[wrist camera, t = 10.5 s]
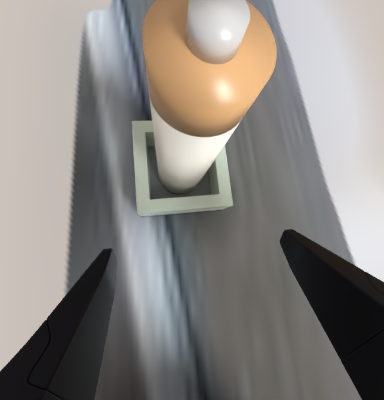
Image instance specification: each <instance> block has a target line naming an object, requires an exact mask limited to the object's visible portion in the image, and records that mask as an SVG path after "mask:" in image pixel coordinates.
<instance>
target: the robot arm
mask: <svg viewBox="0 0 384 400" xmlns="http://www.w3.org/2000/svg"><path fill="white" fill-rule="evenodd" d="M280 244H281V247H282V249H283V252H284V254H285V256H286V259H287V261H288V263H289V266H290V268H291V270H292V272H293V274H294V276H295V278H296V279H297V281H298V283H299V285H300V287H301V289H302V290H303V292H304V294H305V296H306V298H307V299H308V301H309V303H310V305H311V307H312V309H313V310H314V312H315V314H316V316H317V318H318V320H319V321H320V323H321V325H322V327H323V329H324V331H325V332H326V334H327V336H328V338H329V340H330V341H331V343H332V345H333V347H334V349H335V351H336V352H337V354H338V356H339V358H340V359H341V362H342V364H343V365H344V367H345V369H346V371H347V373H348V375H349V376H350V378H351V380H352V382H353V384H354V386H355V387H356V389H357V391H358V393H359V395H360V396H361V398H362V400H384V282H382V281H381V280H379V279H377V278H375V277H373V276H372V275H370V274H369V273H367V272H364V271H363V270H361V269H360V268H358V267H356V266H355V265H353V264H351V263H350V262H348V261H346V260H344V259H343V258H341V257H339V256H338V255H336V254H334V253H332V252H331V251H329V250H327V249H326V248H324V247H322V246H320V245H319V244H317V243H315V242H314V241H312V240H310V239H308V238H307V237H305V236H303V235H302V234H300V233H298V232H296V231H295V230H293V229H288V230H284V232H283V234H282V237H281V239H280ZM116 267H117V260H116V256H115V253H114V250H113V249H112V248H109V249H104V250H102V252H101V253H100V254H99V255H98V257H97V258H96V259H95V260H94V261H93V263H92V264H91V265H90V266H89V268H88V269H87V270H86V271H85V272H84V274H83V275H82V276H81V277H80V279H79V280H78V281H77V282H76V283H75V285H74V286H73V287H72V288H71V290H70V291H69V292H68V293H67V294H66V296H65V297H64V298H63V299H62V301H61V302H60V303H59V304H58V306H57V307H56V308H55V309H54V310H53V312H52V313H51V314H50V315H49V316H48V318H47V320H45V321H44V322H43V324H42V325H41V326H40V327H39V329H38V330H37V331H36V332H35V334H34V335H33V336H32V337H31V338H30V339H29V340H28V342H27V343H26V344H25V345H24V346H23V347H22V348H21V349H20V351H19V352H18V353H17V354H16V355H15V356H14V357H13V358H12V359H11V360H10V362H9V363H8V364H7V365H6V366H5V367H4V368H3V369H2V370H1V371H0V400H94V398H95V393H96V387H97V382H98V377H99V372H100V367H101V362H102V356H103V351H104V346H105V341H106V336H107V331H108V325H109V320H110V315H111V310H112V305H113V299H114V293H115V280H116Z"/></svg>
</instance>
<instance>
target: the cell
mask: <svg viewBox="0 0 384 400" xmlns="http://www.w3.org/2000/svg"><path fill="white" fill-rule="evenodd" d="M142 38H143V46H144V55H145V63H146V72H147V80H148V89H149V97H150V106H151V114H152V123H153V131H154V140H155V148H156V157H157V165H158V174H159V179H160V182H161V184H162V185H163V187H164V188H165V189H166V190H168V191H169V192H171V193H174V194H186V193H189V192H191V191H192V190H194V189H195V188H196V187H197V185H198V184H199V182H200V181H201V179H202V178H203V176H204V175H205V173H206V172H207V170H208V169H209V167H210V166H211V164H212V163H213V162H214V160H215V159H216V157H217V156H218V154H219V153H220V151H221V150H222V148H223V147H224V145H225V144H226V142H227V141H228V139H229V138H230V136H231V135H232V133H233V132H234V130H235V129H236V127H237V126H238V124H239V123H240V121H241V120H242V118H243V117H244V115H245V114H246V112H247V111H248V109H249V108H250V107H251V105H252V104H253V102H254V101H255V99H256V98H257V96H258V95H259V93H260V92H261V90H262V89H263V87H264V86H265V84H266V83H267V81H268V80H269V78H270V76H271V74H272V73H273V70H274V67H275V63H276V43H275V40H274V36H273V33H272V31H271V29H270V27H269V25H268V23H267V22H266V20H265V19H264V17H263V16H262V15H261V14H260V13H259V11H258V10H257V9H256V8H255V7H253V6H252V5H251V4H250V3H249V2H247V1H246V0H156V1H155V2H154V3H153V5H152V6H151V7H150V9H149V10H148V12H147V14H146V17H145V20H144V23H143V29H142Z"/></svg>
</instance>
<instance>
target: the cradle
mask: <svg viewBox="0 0 384 400" xmlns="http://www.w3.org/2000/svg"><path fill="white" fill-rule="evenodd" d="M132 135H133V152H134V169H135V186H136V203H137V214H138V215H140V216H141V217H145V216H156V215H167V214H178V213H190V212H201V211H212V210H222V209H225V208H228V207H230V206H233V202H232V194H231V187H230V180H229V172H228V165H227V157H226V150H225V145H224V147H223V148H222V150H221V151H220V153H219V154H218V156H217V157H216V159H215V160H214V162H213V163H212V164H211V166H210V167H209V169H208V170H207V172H206V173H205V175H204V176H203V178H202V179H201V181H200V182H199V184H198V185H197V187H196V188H195V189H194V190H192V191H191V192H189V193H186V194H174V193H171V192H169V191H168V190H166V189H165V188H164V187H163V185H162V184H161V182H160V179H159V174H158V165H157V157H156V148H155V140H154V131H153V123H152V121H132Z"/></svg>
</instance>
